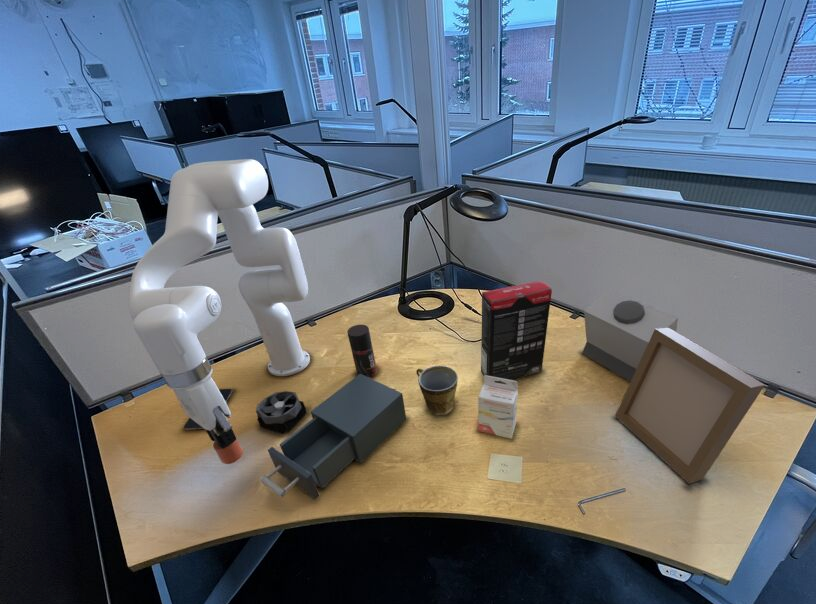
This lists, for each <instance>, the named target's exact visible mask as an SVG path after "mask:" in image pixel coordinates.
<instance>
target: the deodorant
mask: <svg viewBox="0 0 816 604" xmlns="http://www.w3.org/2000/svg"><path fill="white" fill-rule="evenodd" d="M346 334H347V338H348V341H349V347H350V350H351V354H352V359H353V363H354V367H355V371H356V376H358V375H359V374H362V375H364V376H367V377H369V378H372V377H374V376H375V375H377V373H378V369H377V364H376V358H375V354H374V348H373V343H372V338H371V333H370V328H369V326H368V325H366V324H355V325H352V326H350V327H348V329H347V333H346Z"/></svg>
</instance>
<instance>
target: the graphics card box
mask: <svg viewBox="0 0 816 604" xmlns="http://www.w3.org/2000/svg"><path fill="white" fill-rule="evenodd" d="M552 293H553V291H552V288H551V287H550V286H549V285H548V284H547V283H546V282H544V281H542V280H537V281H532V282H527V283H522V284H517V285H511V286H507V287H501V288H496V289H492V290H491V289H490V290H486V291H482V292H481V342H480V343H481V344H480V345H481V347H480V373H481V375H482V376H483V377H484V375H487V376H492V377H498V378H503V379H508V380H514V379H519V378H522V377H527V376H532V375H535V374H538V373H541V372H542V371H543V365H544V355H545V346H546V339H547V332H548V323H549V315H550V308H551V300H552ZM494 382H496V383H503V382H502V381H494Z"/></svg>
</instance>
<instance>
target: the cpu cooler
mask: <svg viewBox="0 0 816 604" xmlns="http://www.w3.org/2000/svg"><path fill="white" fill-rule="evenodd" d="M255 413H256V415H257V416H256V417H257V418H256V420H257V422H258V425H259V426H260V428H262V429H265V430H269V431H271V432H275V433H279V434H282V435H284V434H285V433H290V431H291V430H292V429H293V428H294V427H295V426H296V425H297V423H299V421H301V420H302V419H303V417H304V416H305V415H306V414H307V408H306V406H305V403H304V401H303V400H300V399H299V397H298V395H297V392H295V391H287V390H283V391H275V392H273V393H272V394H270V395H268V396H266V397H265V398H263V400H262V401H261V402H260V403H258V404H256V409H255Z"/></svg>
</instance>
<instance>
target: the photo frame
mask: <svg viewBox="0 0 816 604" xmlns="http://www.w3.org/2000/svg"><path fill="white" fill-rule="evenodd" d="M629 382H630V381H629ZM765 386H766V384H765V383H763V382H761V381H759V380H758V379H756V378H754V377H752V376H750V374H748V373H746V372H744V371H743V370H741V369H739V368H737V366H736V367H735V366H734V365H732V363H731V364H730V363H729V362H728V361H726V360H724V359H723V358H721V357H719V356H717V355H716V354H714V353H712V352H711V351H709V350H707V349H705V348H704V347H702V346H700V345H699V344H697V343H696V342H694V341H692V340H691V339H689V338H687V337H686V336H684V335H682V334H680V333H679V332H677V331H676V332H675V331H673V330H672V329H670V328H659V329H655V330H654V332H653V334H652V337H651V339H650V341H649V343H648V345H647V347H646V350H645V352H644V354H643V356H642V358H641V360H640V363H639V365H638V367H637V369H636V371H635V373H634V376H633V378H632V380H631V382H630V383H629V385H628V387H627V388H626V391H625V393H624V395H623V398H622V400H621V402H620V404H619V406H618V408H617V410H616V413H615V416H614V417H615V418H616V419H618V421H620V422H621V423H622V424H623V425H624V426H625V427H626V428H627V429H628V430H630V432H632V433H633V434H634V435H635V436H636V437H637V438H638V439H639V440H640V441H641V442H642V443H644V444H645V445H646V446H647V447H648V448H649V449H651V451H652V452H654V453H655V454H656V455H657V456H658V457H659V458H660V459H661V460H662V461H664V462H665V464H667V465H668V466H669V467H670V468H671V469H672V470H674V472H676V473H677V474H678V476H680V477H681V478H682V479H683V480H684V481H685V482H687V483H688V484H693V483H695V482H698V481H702V480H704V478H705V477H706V475H707V474H708V472H709V470H710V469H711V467H712V466H713V465H714V464H715V461H716V460H717V459H718V457H719V455H721V452H722V451H723V449H725V447H726V445H727V443H728V442H729V440H730V439H731V437H732V436H733V435H734V433H735V432H736V430H737V428H738V427H739V425H740V424H741V422H742V421H743V419H744V418H745V416H746V415H747V413H748V412H749V410H750V408H751V407H752V406H753V404H754V403H755V401H756V400H757V398H758V396H760V394H761V392H762V391H763V390H764V387H765Z"/></svg>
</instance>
